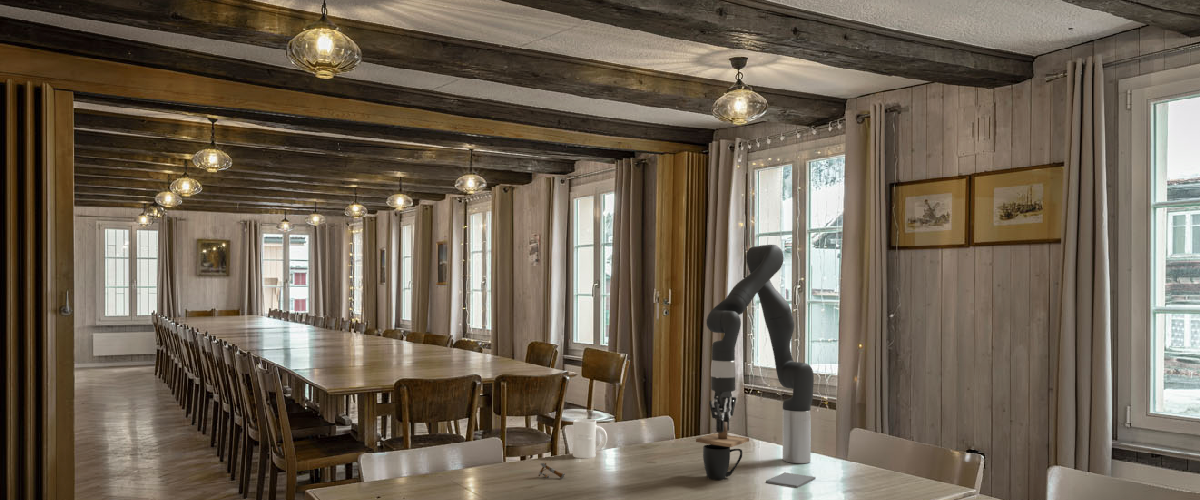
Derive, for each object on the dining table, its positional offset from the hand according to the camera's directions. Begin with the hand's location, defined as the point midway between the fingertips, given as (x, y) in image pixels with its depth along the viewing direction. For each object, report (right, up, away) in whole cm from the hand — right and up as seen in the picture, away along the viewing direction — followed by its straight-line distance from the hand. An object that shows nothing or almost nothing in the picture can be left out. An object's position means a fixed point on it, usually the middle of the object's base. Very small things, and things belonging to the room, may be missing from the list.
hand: (722, 431), depth 252 cm
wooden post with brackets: (-53, -14, -3) cm, 54 cm away
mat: (+20, -14, -3) cm, 25 cm away
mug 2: (0, -14, -1) cm, 15 cm away
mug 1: (-41, -15, +30) cm, 53 cm away
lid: (0, -3, 0) cm, 3 cm away
